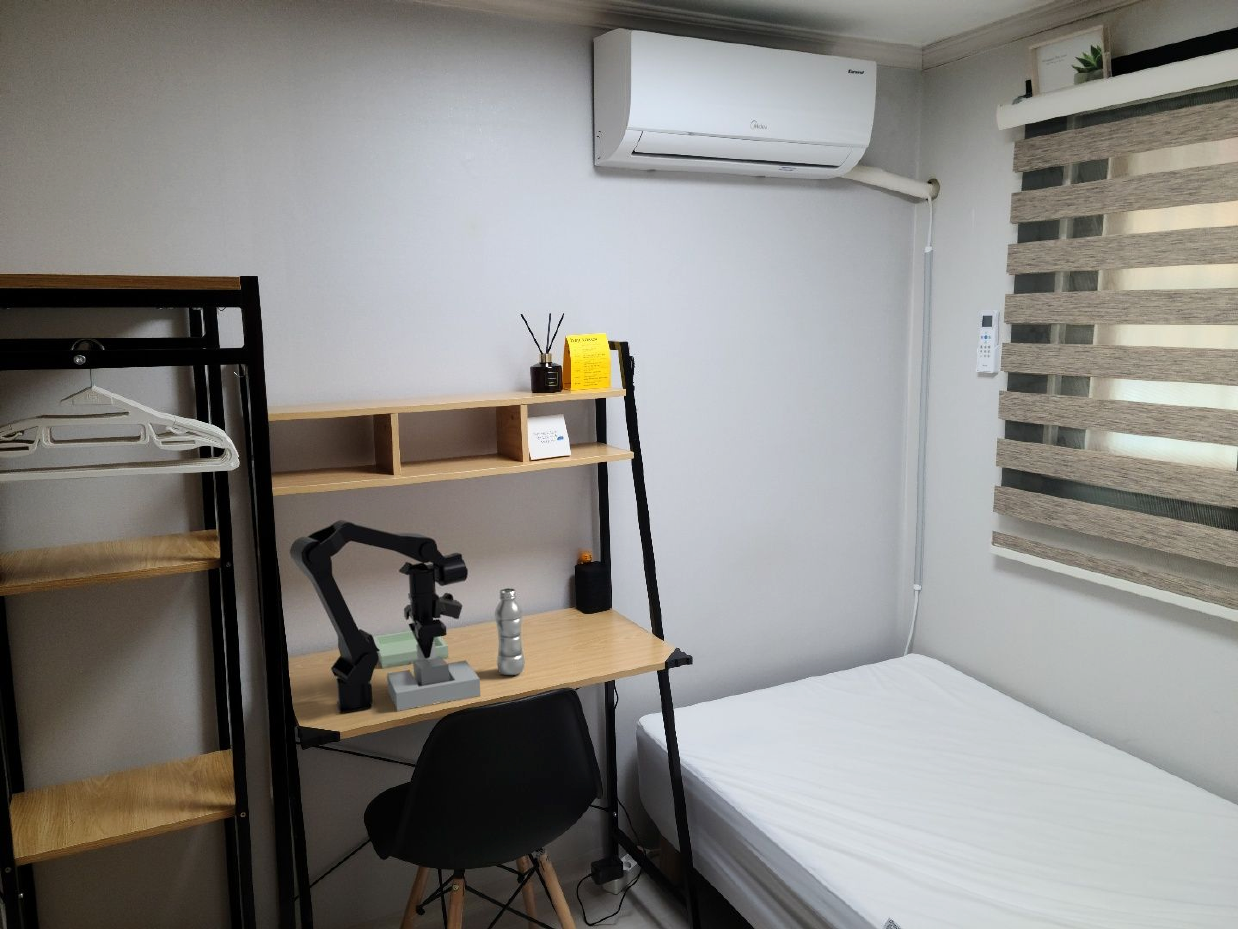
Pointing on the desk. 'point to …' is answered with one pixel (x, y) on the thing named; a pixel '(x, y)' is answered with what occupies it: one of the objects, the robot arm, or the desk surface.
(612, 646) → the desk surface
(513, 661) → the plastic bottle
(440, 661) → the grey block with handle
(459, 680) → the bay housing
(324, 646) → the desk surface
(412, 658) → the tray
